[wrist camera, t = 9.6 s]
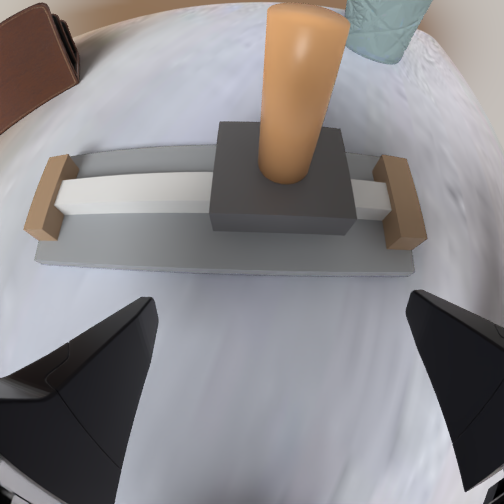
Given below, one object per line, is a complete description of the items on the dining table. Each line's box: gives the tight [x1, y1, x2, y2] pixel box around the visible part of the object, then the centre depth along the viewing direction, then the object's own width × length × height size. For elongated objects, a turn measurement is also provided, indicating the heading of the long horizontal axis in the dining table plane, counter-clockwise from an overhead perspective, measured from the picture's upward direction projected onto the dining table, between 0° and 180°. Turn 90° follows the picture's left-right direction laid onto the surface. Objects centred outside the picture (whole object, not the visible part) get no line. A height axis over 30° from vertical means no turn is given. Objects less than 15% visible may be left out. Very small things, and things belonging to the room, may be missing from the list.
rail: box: [23, 145, 427, 276], centre depth 17 cm, size 26×9×3 cm, turn 89°
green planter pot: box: [345, 0, 432, 64], centre depth 22 cm, size 10×10×12 cm
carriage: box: [209, 3, 357, 236], centre depth 11 cm, size 7×6×10 cm
